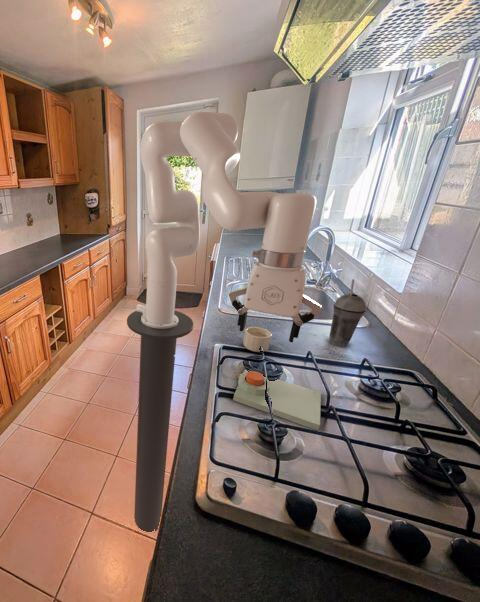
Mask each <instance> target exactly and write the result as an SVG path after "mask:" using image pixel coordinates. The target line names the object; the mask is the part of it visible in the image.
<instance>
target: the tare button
mask: <svg viewBox="0 0 480 602" xmlns="http://www.w3.org/2000/svg"><path fill="white" fill-rule="evenodd" d="M248 371H249V372H248V373H247V376H246V381H247V382H248V383H249V384H251V385H254V386H262V385H263V382H264V376H263V375H264V374H262V373H261V372H259V371H256V370H248Z"/></svg>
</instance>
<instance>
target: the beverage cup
mask: <svg viewBox="0 0 480 602" xmlns="http://www.w3.org/2000/svg"><path fill="white" fill-rule="evenodd" d="M354 284H355V279H353V278H352V279H351V283H350V290H349V293H345V294H342V295H341V296H339V297H338V298H337V299H336V300H335V302H334V303H333V315H332V320H331V326H330V331H329V338H328V343H330V344H332V345H335V346H336V347H341V348H345V347H348V345H349V344H350V342H351V340H352V337H353V336H354V333H355V331H356V330H357V327H358V325H359V323H360V321H361V319H362V317H363V316H364V314H365V313H366V312H367V310H366V309H367V305H366V301H365V299H364V298H363V297H361V295H359V294H356V293H353V290H354Z"/></svg>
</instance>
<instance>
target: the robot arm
mask: <svg viewBox="0 0 480 602" xmlns="http://www.w3.org/2000/svg"><path fill="white" fill-rule="evenodd" d="M238 135H239V125H238V121H237V120H236V119H235V118H234V116H232V115H231V114H229V113H226V112H225V113H224V112H214V111H197V112H193V113H192V114H190V115H188V116H187V117H186V118H185V119H184V120H183V122H182V121H169V120H168V121H167V120H166V121H164V120H163V121H162V120H161V121H157V122H153V123H151V124H150V125H148V127H147V128H145V130H144V132H143V134H142V136H141V140H140V148H139V152H140V153H139V154H140V160H141V161H140V162H141V165H142V169H143V173H144V177H145V190H146V203H147V204H146V205H147V213H148V218H149V220H150V221H151V222H152V223H154V224H172V223H173V224H174V223H175V225H176V226H168V227H161V228H156V229H153V230H151V231H150V232H149V233H148V234H147V235H146V238H145V243H144V244H145V253H146V260H147V261H146V262H147V277H146V298H145V299H146V300H145V301H146V303H145V305H144V304H139V303H138V304H137V305H136V310H135V311H137V312H141V313H142V314H143V315H142V316H141V321H142V323H143V324H145V325H146V326H148V327H151V328H156V329H168V328H172V327H175V326H176V325H177V324H178V317H177V316H176V315H174V310H175V308H176V299H177V284H178V268H177V266H176V265H175V263H174V261H173V259H176V258H180V257H186V256H191V255H193V254H196V252H197V251H198V249H199V247H200V243H201V227H200V226H201V225H200V204H199V201H198V198H197V196H196V194H194V193H193V192H192V191H190V190H187V189H177V187H176V177H175V176H176V175H175V172H174V169H173V167H172V165H171V164H170V162H169V161H168V160H167V157H191V158H192V160H193V161H194V163H195V164H196V166H197V167H198V169H199V170H200V171H201V173H202V174H203V178H202V183H201V188H202V189H201V192H202V199H203V203H204V205H205V207H206V208H207V210H208V212H209V213H210V214H211V216H212V218H213V219H214V221H215V222H216V223H217V224H218V225H219V226H220V227H221V228H223V229H225V230H226V231H231V232H237V231H239V232H240V231H244V230H245V231H246V230H256V229H264V230H263V231H264V232H263V238H262V243H261V248H259V249H257V250H255V249H254V250H253V251H252V255H251V257H253V258H256V259H257V260H258V261H256V262H254V264H253V267H252V269H251V271H250V276H249V278H248V283H247V286H245V287H242V288H237V289H234V290H231V291H229V293H228V297H229V300H230V302H231V305H232V306H233V308H234V309H235V311H237V314H238V318H237V326H238V327H239V332H244V331H245V329H246V325H247V324H246V323H247V319H248V311H252V312H257V313H263V314H268V315H274V316H281V317H287V318H291V319H292V323H291V324H292V325H291V329H290V334H289V338H288V342H289V343H292V344H293V343H294V338H295V339H298V338H299V335H300V331H301V327H302V326H304V325H305V324H307V323H308V322H310V321H313V320H314V319H315V318H316V317H317V316H318V315H319V314H320V313H321V312H322V311H323V308H324V307H323V305H321V304H320V303H318V302H317V301H315V300H313V299H311V298H310V297H309V296H307V295H306V294H305V293H304V292H305V287H306V279H307V278H306V277H307V269H306V266H304V265H303V262H304V260H305V259H304V258H305V254H306V249H307V245H308V241H309V238H310V232H311V228H312V223H313V219H314V215H315V211H316V206H317V198H316V196H315V195H313V194H311V193H303V192H302V193H301V192H291V193H281V192H276V191H266V190H265V191H244V192H239V190H237V188H236V187H235V185H234V184H233V183H232V181H231V180H230V178H229V177H228V175H229V174H230V173H231V172H232V171H233V170H234V169H235V168H236V166H237V165H238V163H239V161H240V158H241V152H240V150H239V148H238V146H236V144H235V142H236V141H237V138H238ZM244 295H245V297H244V302H243V303H242V302H241V301H240V300H239V299H238V297H240V296H244ZM302 304H304V305H305V306H307V307H308V308H309V309H310V310H309V311H308V312H306V313H303V314H302V313H301V312H300V311H301V308H302ZM175 311H176V310H175Z"/></svg>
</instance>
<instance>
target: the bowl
mask: <svg viewBox="0 0 480 602" xmlns="http://www.w3.org/2000/svg"><path fill="white" fill-rule="evenodd" d="M272 335H273V333H272V332H271V331H269V330H268V329H265V328H263V327H259V326H249V327H245V329H244V335H243V341H242V344H243V347H245V348H246V349H247V350H249V351H251V352H255V353H261V352H260V350H259V348H260V346H261V347H262V348H263V352H262V353H264V352H267V351H268V350H269V348H270V344H271V339H272Z"/></svg>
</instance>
